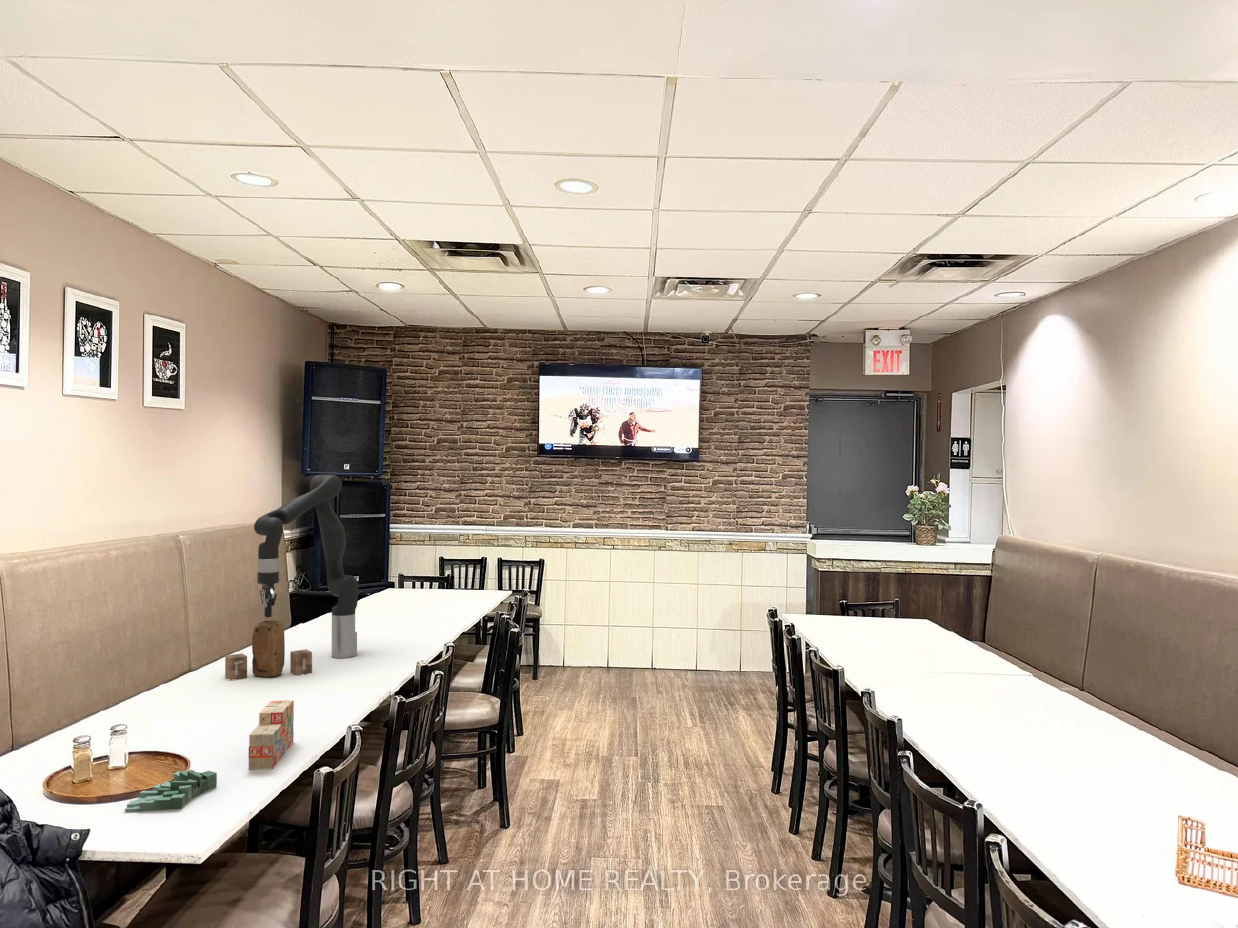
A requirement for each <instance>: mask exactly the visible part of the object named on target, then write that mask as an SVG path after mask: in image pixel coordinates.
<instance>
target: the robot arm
mask: <svg viewBox="0 0 1238 928" xmlns="http://www.w3.org/2000/svg"><path fill="white" fill-rule="evenodd" d="M309 486H310V489H309V490H310V491H309V492H307V493H304V494H301V495H300V496H296V497H294V498H292V499H290V500H289V501H287V502H286V503H284V504H283V505H281V506H279V507H278V508H276V509H274V510H271V511H270V512H267V513H265V514H263V515H261V516H259V517H258V518H257V519H256V520H255V522H254V524H253V525H254V526H253V529H254V532H255V533H256V534H257V535H259V536H265V541H263V542H261V543H259V545H258V549H257V552H258V554H257V556H258V557H257V565H256V567H257V568H256V569H257V572H256V574H257V578H256V583H257V584H258V585H262V586H261V589H260V590H259V596H260V600H261V604H262V605H263V608H264V610H263V611H264V612H263V613H264V615H263V616H264V618H271V617H272V616H273V615H272V614H273V613H272V612H273V610H272V608H273V606H275V604H276V600H277V597H278V594H277V592H276V587H275V584H278V583H279V582H280V560H279V556H280V555H279V553H280V552H279V549H280V548H279V546H280V545H281V541H282V537H283V532H284V525H285V526H286V525H289V524H290V523H292V522H293V521H295V520H296V519H298V518H299V517H300V516H302V515H304V514H305V513H306V512H307V511H310V510H311V509H312V508H314V507H315V512H316V514H317V515H316V516H317V521H318V525H319V529H320V530H319V532H320V538H321V542H322V549H323V552H324V553H323V554H324V559H325V568H326V582H327V588H328V592H329V593H330V594H331V595H332V596H333V597H337V598H338V600H337V604H336V605H335V606H333V607H332V608H331V658H334V659H335V658H336V659H347V658H348V659H349V658H352V657H355V656H358V632H357V631H356V610H357V607H358V601H359V600H358V599H359V583H358V580H357V578H356V577H355V576H353V575H348V574H345V571H344V565H343V558H344V554H345V550H346V546H347V539H346V533H345V527H344V525H343V523H342V521H341V520H340V518H339V516H338V515H337V514H336V512H335V510H334V509H333V506H332V503H331V499H332V498H333V499H334V497H336V496H338V495H339V494H340V493H341V491H342V487H343V483H342V480H341V478H340V477H339V476H337V475H335V474H318V475H315V476H313V477H312V478H311V480H310V484H309Z"/></svg>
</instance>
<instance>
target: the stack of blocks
mask: <svg viewBox="0 0 1238 928" xmlns="http://www.w3.org/2000/svg"><path fill="white" fill-rule="evenodd" d="M294 702H295V700H293V699H291V700H288V699H287V700H286V699H285V700H271V701H269V703H267V704H266V705H265V706H264V707H263V708H262V710H261V711H260V712H259V713H258V717H259V718H258V720H259V721H258V725H257V726H256V727H255V728H254V729H253V730H252V731H251V732H250V734H249V735H248V736H249V737H248V738H249V739H248V741H249V742H248V745H249V746H248V770H250V771H251V770H269V769H270V770H271V769H272V770H273V768H274V767H275V766H276V765H277V764H278V763H279V761H280V760H281V759H282V758H283V756H284V755H285V753H286V752H287V751H286V750H289V749H290V748H291V746H292V745H293V744H294V742H293V741H294V740H295V739H294V738H295V737H294V736H295V735H294V734H295V732H294V718H295V717H294V711H295V710H294V707H295V706H294V705H295V703H294ZM292 743H293V744H292ZM291 744H292V745H291ZM290 745H291V746H290ZM288 748H289V749H288Z"/></svg>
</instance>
